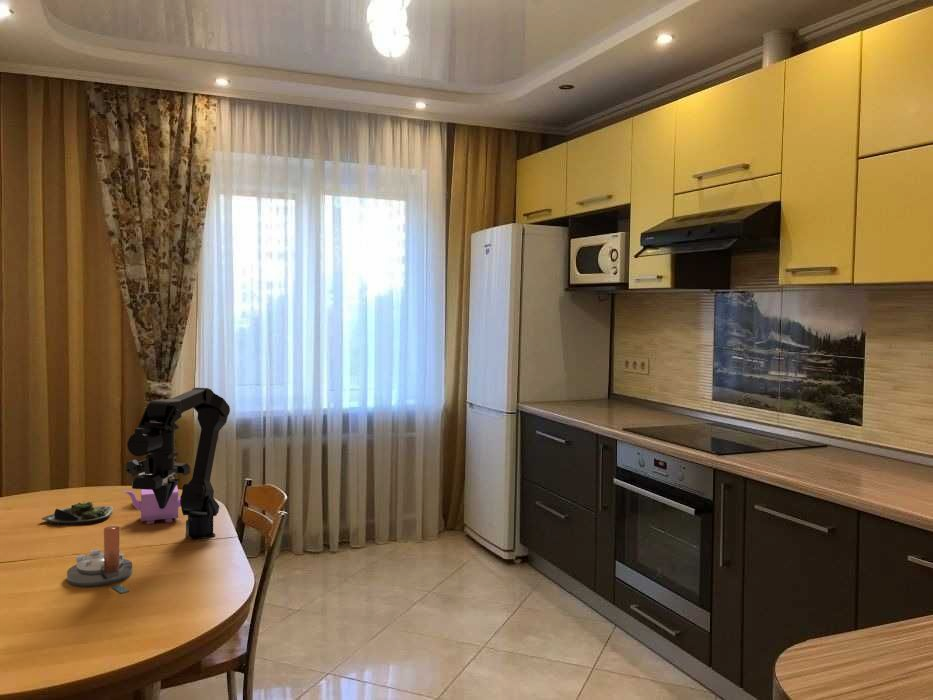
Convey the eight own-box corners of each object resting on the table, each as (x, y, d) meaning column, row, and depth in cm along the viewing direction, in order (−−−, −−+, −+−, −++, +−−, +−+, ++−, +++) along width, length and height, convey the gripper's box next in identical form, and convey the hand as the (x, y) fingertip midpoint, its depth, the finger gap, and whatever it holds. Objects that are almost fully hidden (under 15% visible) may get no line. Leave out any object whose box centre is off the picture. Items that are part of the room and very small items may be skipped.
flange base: (124, 561, 181) (124, 554, 181) (147, 587, 165) (147, 579, 165) (61, 573, 172) (61, 565, 172) (80, 602, 156) (79, 593, 156)
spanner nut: (71, 565, 172) (71, 517, 171) (115, 556, 178) (115, 510, 178) (90, 584, 160) (90, 534, 159) (136, 574, 167) (136, 525, 166)
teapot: (155, 529, 207) (155, 493, 207) (122, 523, 213) (122, 487, 212) (194, 516, 221) (195, 482, 221) (163, 510, 227) (163, 477, 226)
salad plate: (60, 509, 226) (59, 495, 226) (120, 507, 230) (120, 493, 230) (36, 527, 207) (36, 512, 207) (103, 525, 211) (103, 510, 211)
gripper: (152, 441, 194) (152, 497, 194) (111, 454, 175) (111, 516, 176) (191, 442, 193) (190, 499, 193) (154, 456, 174) (154, 519, 175)
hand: (162, 508), depth 184 cm, fingers closed
